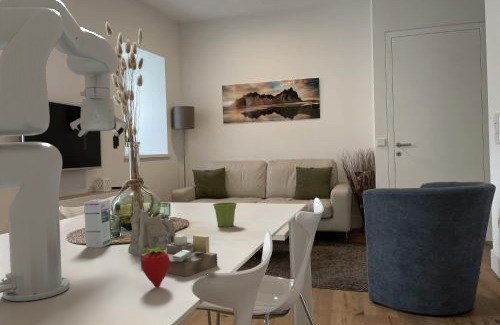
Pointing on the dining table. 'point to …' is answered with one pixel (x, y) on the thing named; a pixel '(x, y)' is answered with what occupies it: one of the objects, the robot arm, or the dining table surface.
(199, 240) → the beige flat square block
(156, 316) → the dining table surface
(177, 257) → the sage rocker
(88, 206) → the syrup box
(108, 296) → the dining table surface
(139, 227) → the grey irregular lump
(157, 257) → the strawberry
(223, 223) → the plant pot
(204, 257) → the switch panel
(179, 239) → the grey push button
